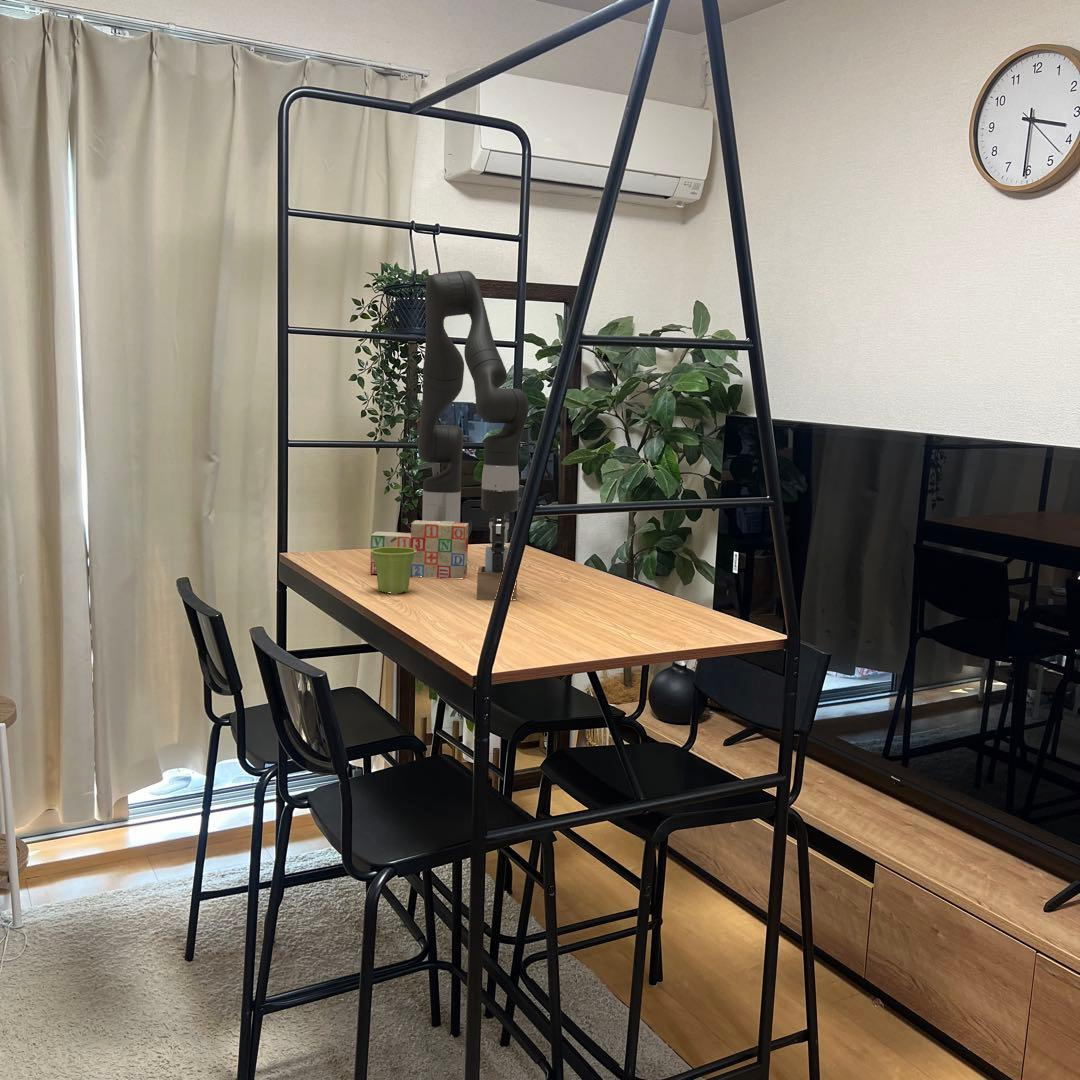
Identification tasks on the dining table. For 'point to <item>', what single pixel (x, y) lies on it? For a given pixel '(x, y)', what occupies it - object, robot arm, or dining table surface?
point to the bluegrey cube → (489, 559)
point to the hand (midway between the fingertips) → (497, 569)
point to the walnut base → (489, 584)
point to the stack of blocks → (430, 548)
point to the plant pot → (393, 568)
